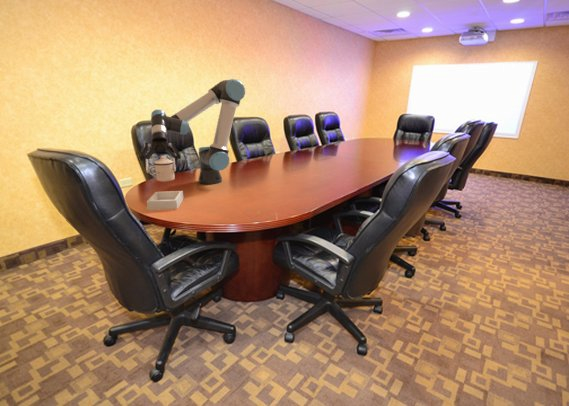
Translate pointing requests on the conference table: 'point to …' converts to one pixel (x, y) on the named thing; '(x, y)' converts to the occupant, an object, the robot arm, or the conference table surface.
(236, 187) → the conference table surface
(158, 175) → the teacup with lid
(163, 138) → the robot arm
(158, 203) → the white open tray
